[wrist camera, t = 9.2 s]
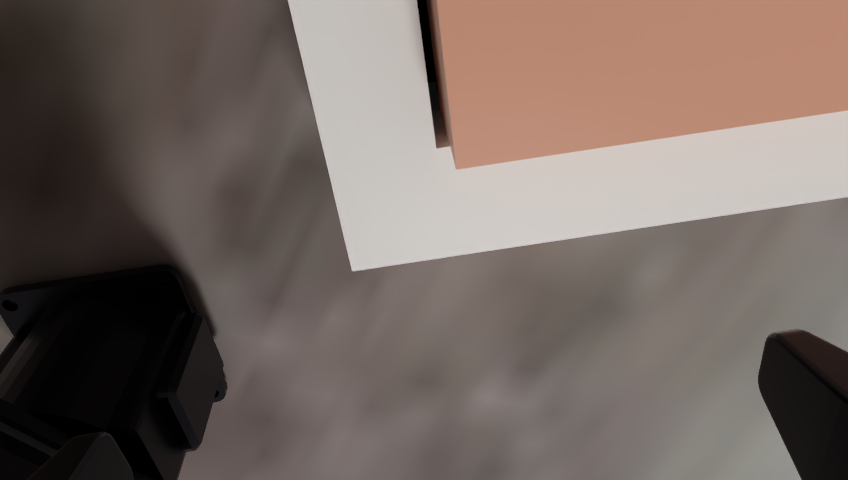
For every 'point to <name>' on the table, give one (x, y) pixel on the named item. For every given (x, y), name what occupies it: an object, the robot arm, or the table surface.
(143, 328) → the robot arm
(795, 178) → the white tray
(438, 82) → the salmon orange rectangular block
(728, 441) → the table surface
